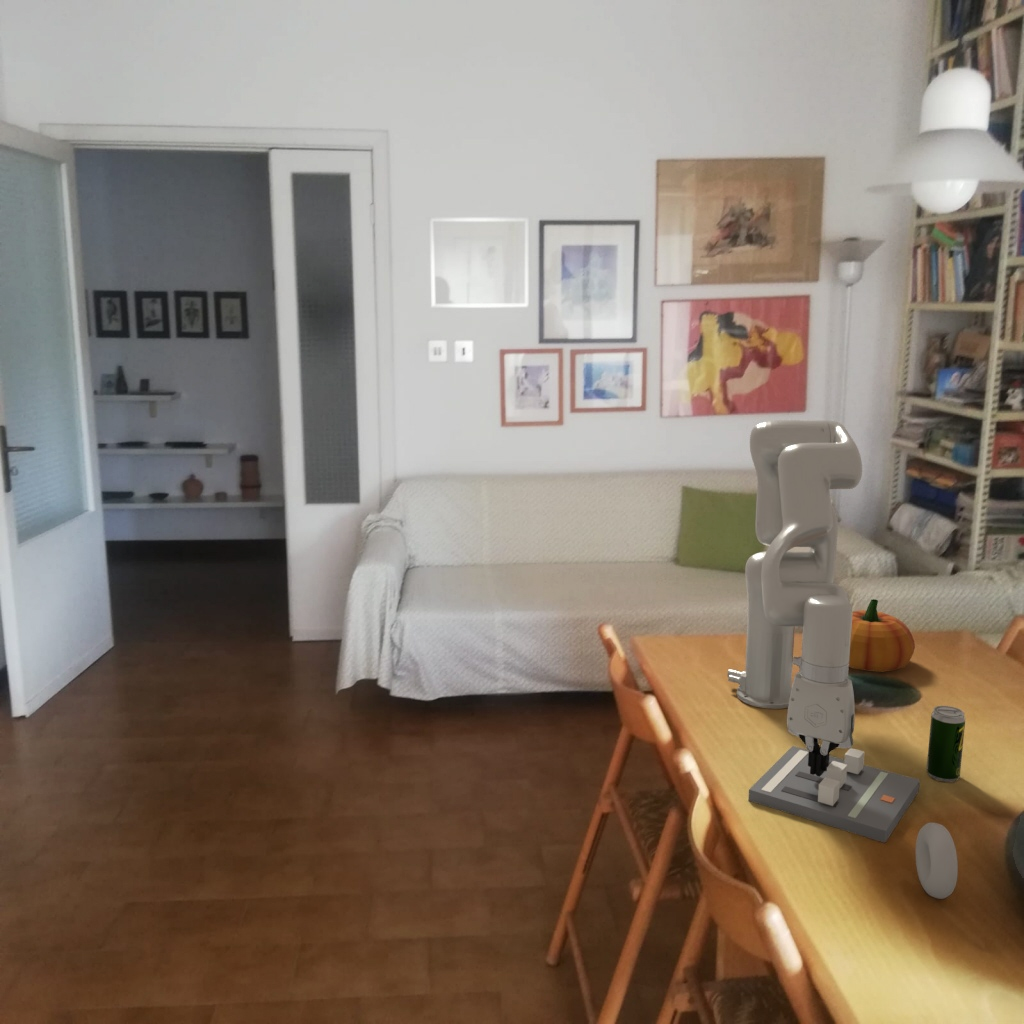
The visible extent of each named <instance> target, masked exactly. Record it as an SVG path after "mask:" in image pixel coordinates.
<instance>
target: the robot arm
mask: <svg viewBox="0 0 1024 1024" xmlns="http://www.w3.org/2000/svg"><path fill="white" fill-rule="evenodd" d="M749 451H750V456H751V459H752V462H753V466H754V469H755V472H756V476H757V486H756V487H757V488H756V504H755V521H754V522H755V526H754V527H755V535H756V539H757V540H758V542H759V543H760V544H762V545H764V546H768V548H767V550H766V551H760V552H757V553H754V554H752V555H751V556H750V557H748V559H747V561H746V563H745V568H744V574H745V575H744V576H745V577H744V578H745V585H746V592H747V593H746V595H747V620H746V621H747V625H746V626H747V627H746V646H745V648H746V650H745V666H744V667H745V668H744V670H743V671H739V670H736V669H731V668H729V669H728V671H727V675H726V676H727V680H728V682H731V683H737V684H738V685H739V686H738V687H737V688H736V696H737V698H738V699H739V700H740V701H741V702H743V703H745V704H747V705H749V706H752V707H755V708H756V707H757V708H762V709H770V710H772V709H773V710H776V709H778V710H779V709H785V708H786V709H787V714H786V727H787V731H788V733H790V734H792V735H793V736H795V737H797V738H798V737H799V738H800V740H801V741H802V743H803V744H804V746H805V749H807V750H808V751H809V757H808V766H809V767H810V774H812V775H814V774H816V776H819V777H820V776H821V775H822V774H823V773H824V771H827V767H828V766H829V756H830V753H831V752H832V751H834V750H836V749H838V748H839V749H850V748H852V747H853V746H854V738H853V733H854V731H855V730H854V729H855V724H856V723H855V719H856V718H855V717H856V714H855V710H856V709H855V694H854V688H853V681H852V679H851V678H849V670H850V669H849V668H850V667H849V656H850V642H851V628H852V612H853V605H852V603H851V599H850V595H849V593H847V591H846V589H845V588H844V587H843V586H842V585H841V584H838V583H834V581H835V571H836V559H837V558H836V557H837V546H838V536H839V535H838V529H839V526H838V525H839V523H838V522H839V521H838V516H837V511H836V509H835V508H834V506H833V505H832V501H831V491H830V490H851V489H854V488H857V486H858V485H859V483H860V482H861V479H862V474H863V463H862V458H861V457H862V456H861V453H860V451H859V448H858V446H857V444H856V442H855V441H854V439H853V438H852V436H851V434H850V433H849V431H848V430H847V429H846V427H845V426H844V425H843V424H842V423H841V422H838V421H835V420H834V421H833V420H800V419H799V420H798V419H797V420H796V419H795V420H792V419H790V420H787V419H786V420H781V419H780V420H769V421H764V422H763V421H762V422H760V423H758V424H755V425H754V426H753V428H752V429H751V431H750V434H749ZM793 548H810V550H809V551H792V550H791V549H793ZM795 627H796V628H797V627H798V628H800V627H802V639H801V641H802V642H801V656H794V648H795V646H794V644H795V630H796V629H795ZM793 665H795V666H797V667H798V668H799V670H798V671H797V672H796V673H795V675H794V677H793ZM792 679H793V681H792ZM820 741H821V745H820V744H819V742H820Z"/></svg>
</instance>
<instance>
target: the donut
mask: <svg viewBox="0 0 1024 1024" xmlns="http://www.w3.org/2000/svg"><path fill="white" fill-rule="evenodd" d="M914 852H915V865H916V866H915V867H916V871H917V876H918V880H919V882H920V884H921V887H922V888H923V889H924V892H925V893H926V894H927V895H929V896H930V897H931V898H932V897H933V898H935V899H939V900H942V899H943V900H944V899H945V898H947V897H949V896H951V894H952V893H953V892H954V890H955V888H956V885H957V881H958V872H959V871H958V869H959V867H958V865H959V864H958V855H957V849H956V845H955V842H954V840H953V837H952V835H951V833H950V832H949V830H948V829H947V828H946V827H945V826H944V825H943V824H940V823H937V822H927V823H925V824H923V826H922V827H921V828H920V829H919V831H918V834H917V837H916V842H915V851H914Z"/></svg>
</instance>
